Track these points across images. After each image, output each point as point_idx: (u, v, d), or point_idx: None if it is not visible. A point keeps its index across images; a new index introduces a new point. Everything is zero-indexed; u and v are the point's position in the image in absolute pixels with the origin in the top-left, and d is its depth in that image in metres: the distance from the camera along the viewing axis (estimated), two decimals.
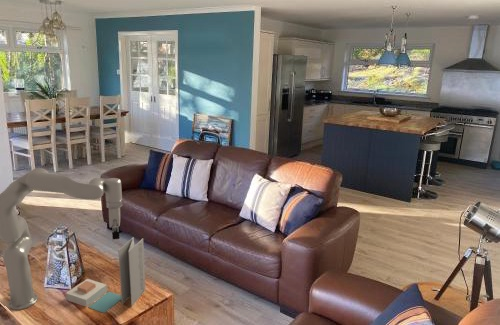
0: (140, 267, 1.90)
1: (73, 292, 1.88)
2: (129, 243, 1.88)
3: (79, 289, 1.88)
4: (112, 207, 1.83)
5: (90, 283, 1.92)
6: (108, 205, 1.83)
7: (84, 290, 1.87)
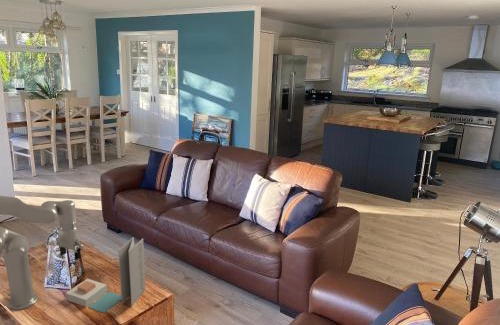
0: (140, 267, 1.90)
1: (73, 292, 1.88)
2: (129, 243, 1.88)
3: (79, 289, 1.88)
4: (72, 229, 1.83)
5: (90, 283, 1.92)
6: (67, 228, 1.82)
7: (84, 290, 1.87)
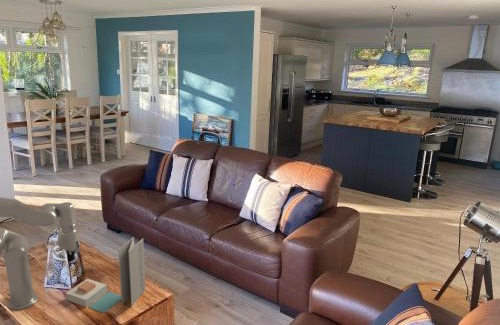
0: (140, 267, 1.90)
1: (73, 292, 1.88)
2: (129, 243, 1.88)
3: (79, 289, 1.88)
4: (72, 230, 1.84)
5: (90, 283, 1.92)
6: (67, 230, 1.82)
7: (84, 290, 1.87)
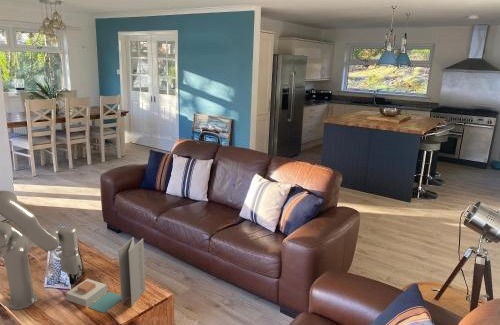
0: (140, 267, 1.90)
1: (73, 292, 1.88)
2: (129, 243, 1.88)
3: (79, 289, 1.88)
4: (74, 254, 1.87)
5: (90, 283, 1.92)
6: (69, 254, 1.86)
7: (84, 290, 1.87)
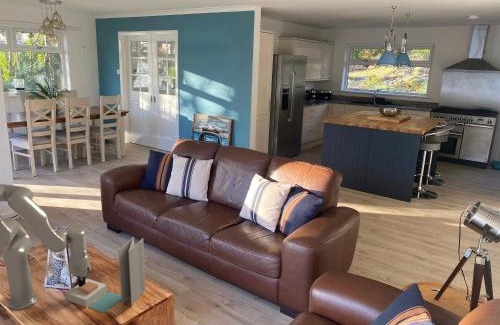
0: (140, 267, 1.90)
1: (73, 292, 1.88)
2: (129, 243, 1.88)
3: (82, 290, 1.88)
4: (83, 257, 1.85)
5: (92, 284, 1.91)
6: (78, 257, 1.84)
7: (86, 291, 1.87)
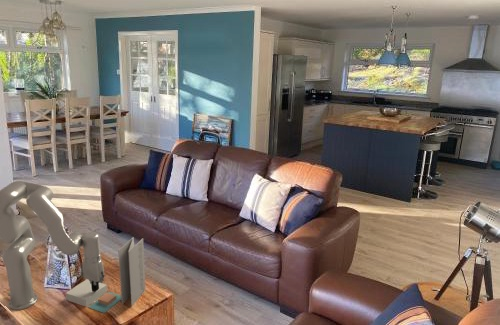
0: (140, 267, 1.90)
1: (73, 292, 1.88)
2: (129, 243, 1.87)
3: (105, 303, 1.85)
4: (97, 261, 1.82)
5: None
6: (92, 261, 1.80)
7: (100, 302, 1.86)
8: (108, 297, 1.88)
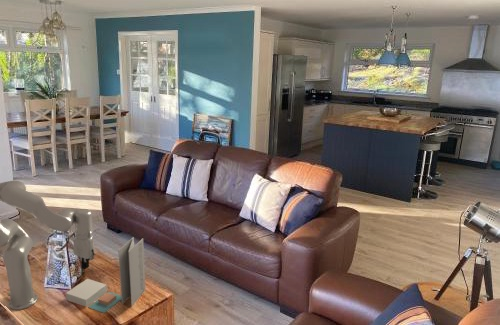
0: (140, 267, 1.90)
1: (73, 292, 1.88)
2: (129, 243, 1.88)
3: (105, 303, 1.85)
4: (88, 238, 1.82)
5: None
6: (83, 237, 1.81)
7: (100, 302, 1.86)
8: (108, 297, 1.88)
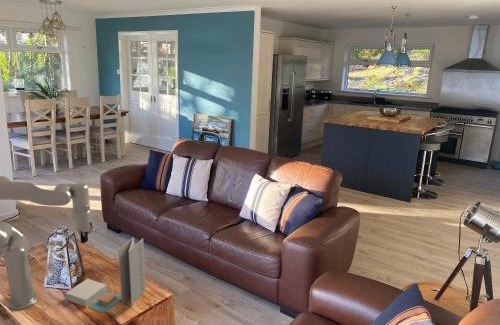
0: (140, 267, 1.90)
1: (73, 292, 1.88)
2: (129, 243, 1.88)
3: (105, 303, 1.85)
4: (86, 211, 1.84)
5: None
6: (81, 211, 1.82)
7: (100, 302, 1.86)
8: (108, 297, 1.88)
